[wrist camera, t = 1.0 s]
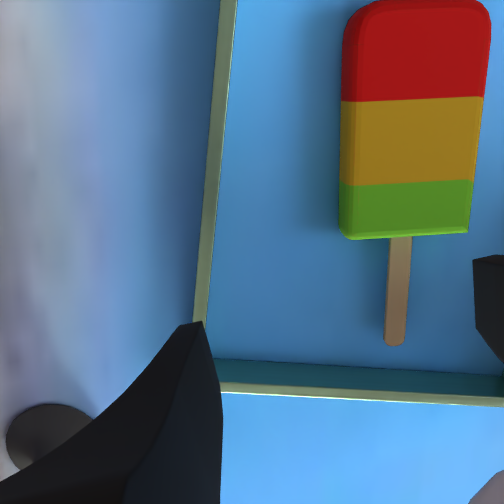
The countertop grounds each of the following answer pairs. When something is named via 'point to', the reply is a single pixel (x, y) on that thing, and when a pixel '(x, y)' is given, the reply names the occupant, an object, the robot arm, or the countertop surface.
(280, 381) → the baking frame
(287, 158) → the countertop surface
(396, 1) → the popsicle
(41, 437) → the sundae
